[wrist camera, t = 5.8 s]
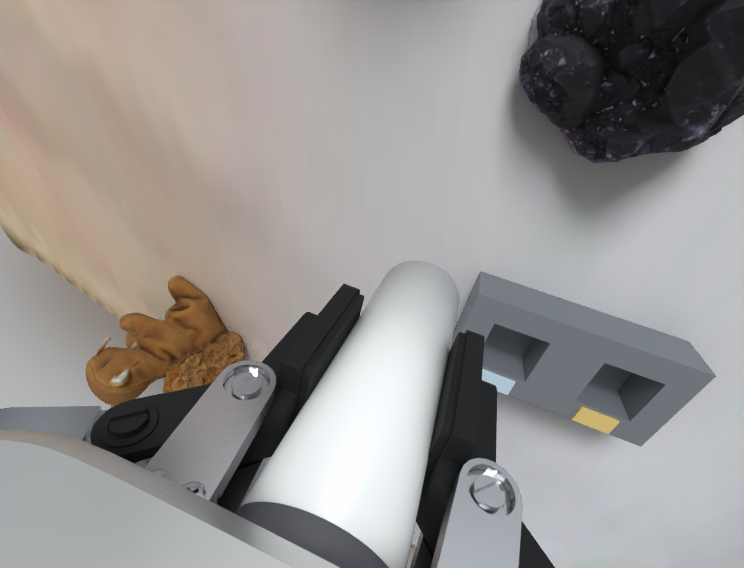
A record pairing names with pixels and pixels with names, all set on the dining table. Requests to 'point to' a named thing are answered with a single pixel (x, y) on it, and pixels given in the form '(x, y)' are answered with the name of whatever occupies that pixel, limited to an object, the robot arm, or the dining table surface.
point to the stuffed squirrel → (165, 349)
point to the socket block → (581, 360)
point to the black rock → (636, 72)
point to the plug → (365, 430)
